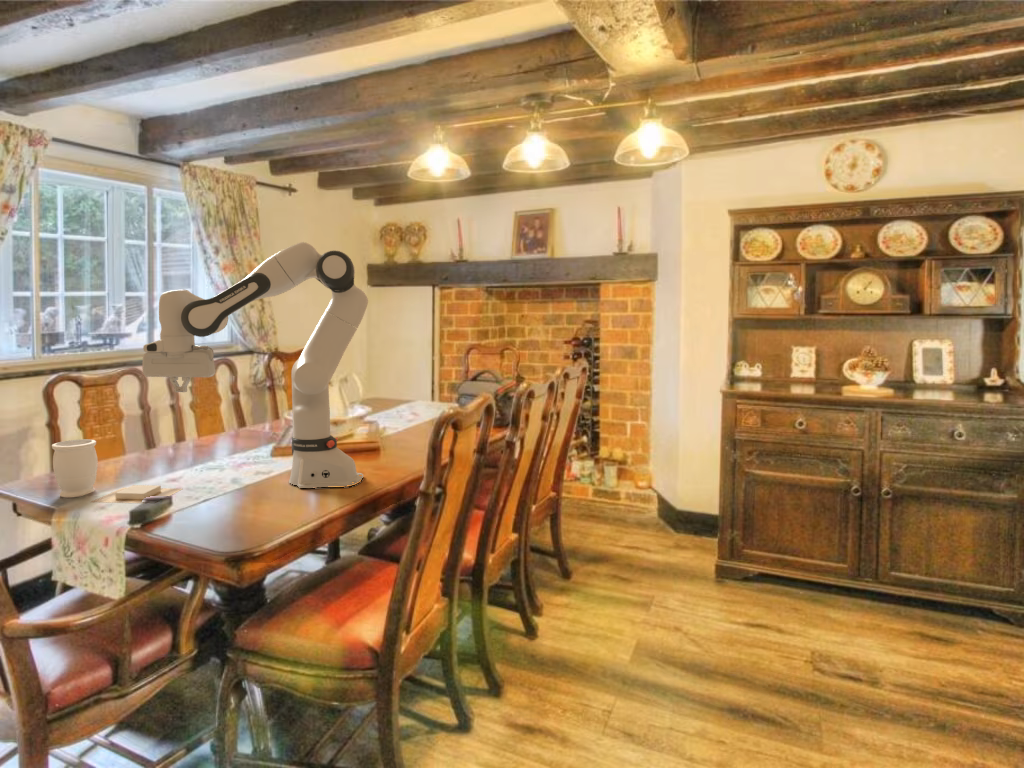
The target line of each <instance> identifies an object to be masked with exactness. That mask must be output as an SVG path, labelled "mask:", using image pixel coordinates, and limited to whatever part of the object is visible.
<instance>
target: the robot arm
mask: <svg viewBox="0 0 1024 768" xmlns="http://www.w3.org/2000/svg"><path fill="white" fill-rule="evenodd" d="M316 249H317V248H315V247H314V246H313V245H311V244H309V243H307V242H304V241H301V242H297V243H296V244H292V245H290V246H288V247H286V248H283V249H281V250H280V251H277V252H276V253H274V254H273V255H271V256H269V257H267V259H265V260H264V261H263V262H261V263H260V264H258V266H256V268H254V269H253V270H252V271H251V272H250V273H248V275H246V276H245V277H244V278H243V279H242V280H240V281H238V282H237V283H235V284H234V285H232V286H230V287H229V288H227V289H225V290H224V291H222V292H220V293H219V294H216V295H215V296H213V297H211V298H207V299H205V298H202V297H200V296H198V295H195V294H194V293H192V292H191V291H189V290H187V289H174V290H168V291H165V292H163V293H162V294H161V295H160V297H159V302H158V320H159V324H160V334H159V336H160V339H158V340H155V341H153V342H150V343H146V344H144V345H143V352H145V353H144V354H143V356H142V374H143V375H144V377H147V378H158V377H159V378H169V382H170V383H171V385H172V386H173V390H174V392H175V393H187V392H188V386H189V384H190V382H191V378H211V377H214V376H215V375H216V363H215V361H214V360H215V355H214V354H215V353H214V349H212V348H211V347H210V346H208V345H195V344H196V343H195V337H199V338H204V337H207V336H211V335H214V334H218V333H219V332H221V331H223V330H224V329H225V328H226V327H227V325H228V323H229V316H230V315H231V314H232V315H233V313H235V312H237V311H238V310H240V309H242V308H243V307H245V306H247V305H248V304H251V303H252V302H255V301H258V300H261V299H265V298H270V297H271V298H272V297H276V296H280V295H282V294H284V293H287V292H288V291H290V290H293V289H294V288H296V286H297V287H298V286H300V284H302V283H303V282H305V281H308V280H309V279H316V280H317V281H318V282H320V283H321V284H322V285H323V286H324V287H325V288H327V289H329V290H330V291H331V298H330V301H329V302H328V305H327V306H326V308H325V310H324V312H323V314H322V315H321V317H320V319H319V320H318V323H317V324H316V326H315V328H314V329H313V331H312V332H311V334H310V337H309V339H308V340H307V342H306V344H305V346H304V349H303V350H302V352H301V354H300V356H299V357H298V359H297V360H295V362H294V363H293V365H292V368H291V373H290V374H291V376H290V377H291V400H292V401H291V402H292V404H291V405H292V409H291V410H292V437H291V454H292V465H291V471H290V477H289V480H288V483H289V484H290V483H291V484H290V485H292V484H293V485H292V486H294V485H297V486H298V487H299V488H298V487H297V486H296V487H297V488H298V489H300V488H313V487H328V486H347V485H352V484H355V483H357V482H359V481H360V480H361V479H362V478H363V477H364V474H363V473H362V472H357V467H356V462H355V460H354V459H353V458H352V457H351V456H350V455H349V454H347V453H345V452H344V451H342V450H341V449H339V448H338V447H337V446H338V443H337V442H338V439H339V438H338V437H334V436H333V435H331V411H330V393H329V391H330V390H329V389H330V388H329V384H330V382H331V379H332V378H333V377H334V374H335V373H336V370H337V369H338V366H339V365H340V362H341V360H342V358H343V356H344V353H345V351H346V350H347V348H348V346H349V344H350V342H351V341H352V339H353V337H354V335H355V334H356V332H357V330H358V328H359V326H360V324H361V322H362V321H363V319H364V318H363V317H364V316H365V314H366V313H365V312H366V309H367V307H368V303H369V298H368V295H367V294H366V293H365V291H363V290H362V289H361V288H359V287H358V286H356V285H355V276H356V275H355V274H356V269H355V266H354V263H353V261H352V259H351V258H350V257H349V255H348V254H346V253H344V252H343V251H340V250H328V251H326V252H324V253H323V254H320V253H319V252H318V251H317V250H316ZM179 378H181V381H183V383H182V384H181V385H180V384H179V381H178V380H179ZM359 475H362V476H359ZM352 482H354V483H352Z"/></svg>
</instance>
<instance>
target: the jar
mask: <svg viewBox="0 0 1024 768" xmlns="http://www.w3.org/2000/svg"><path fill="white" fill-rule="evenodd" d="M96 445H97V440H95V439H89V438H88V439H71V440H63V441H59V442H56V443H52V444H51V449H52V450H54V452H53V456H52V467H53V474H54V477H55V481H56V483H57V486H58V487H59V489H60V490H61V491H60V493H59V496H60V497H62V498H71V499H72V498H80V497H83V496H85V495H88V494H91V493H93V492H95V491H96V488H95V487H94V485H95V483H96V480H97V471H98V463H99V462H98V455H97V451H96V448H95V446H96Z"/></svg>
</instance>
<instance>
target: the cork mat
mask: <svg viewBox="0 0 1024 768" xmlns="http://www.w3.org/2000/svg"><path fill="white" fill-rule="evenodd" d="M126 488H127V487H121V488H119V489H116V490H114V491H112V492H110V493H107V494H105V495H102V496H101V497H98V498H96V499H93V500H92V501H90V503H105V504H106V503H111V504H114V503H117V504H142V503H141V502H142V500H143V499H116V497H115V493H117V492H119V491H121V490H123V489H126ZM181 490H183V488H169V487H168V488H167V487H166V488H164V487H163V488H162V487H161V491H160V492H158V493H156V494H154V495H152V496H169V497H171V496H172V495H175V494H176V493H178V492H180V491H181Z"/></svg>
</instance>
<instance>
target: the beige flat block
mask: <svg viewBox="0 0 1024 768" xmlns="http://www.w3.org/2000/svg"><path fill="white" fill-rule="evenodd" d="M125 488H126V489H123V490H121V491H119V492H117V493H115V497H116V499H144V498H146V497H150V496H152V495H154V494H156V493H158V492H160V491H161V488H162V486H161V485H149V484H148V485H147V484H145V485H144V484H133V485H130V486H128V487H125Z"/></svg>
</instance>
